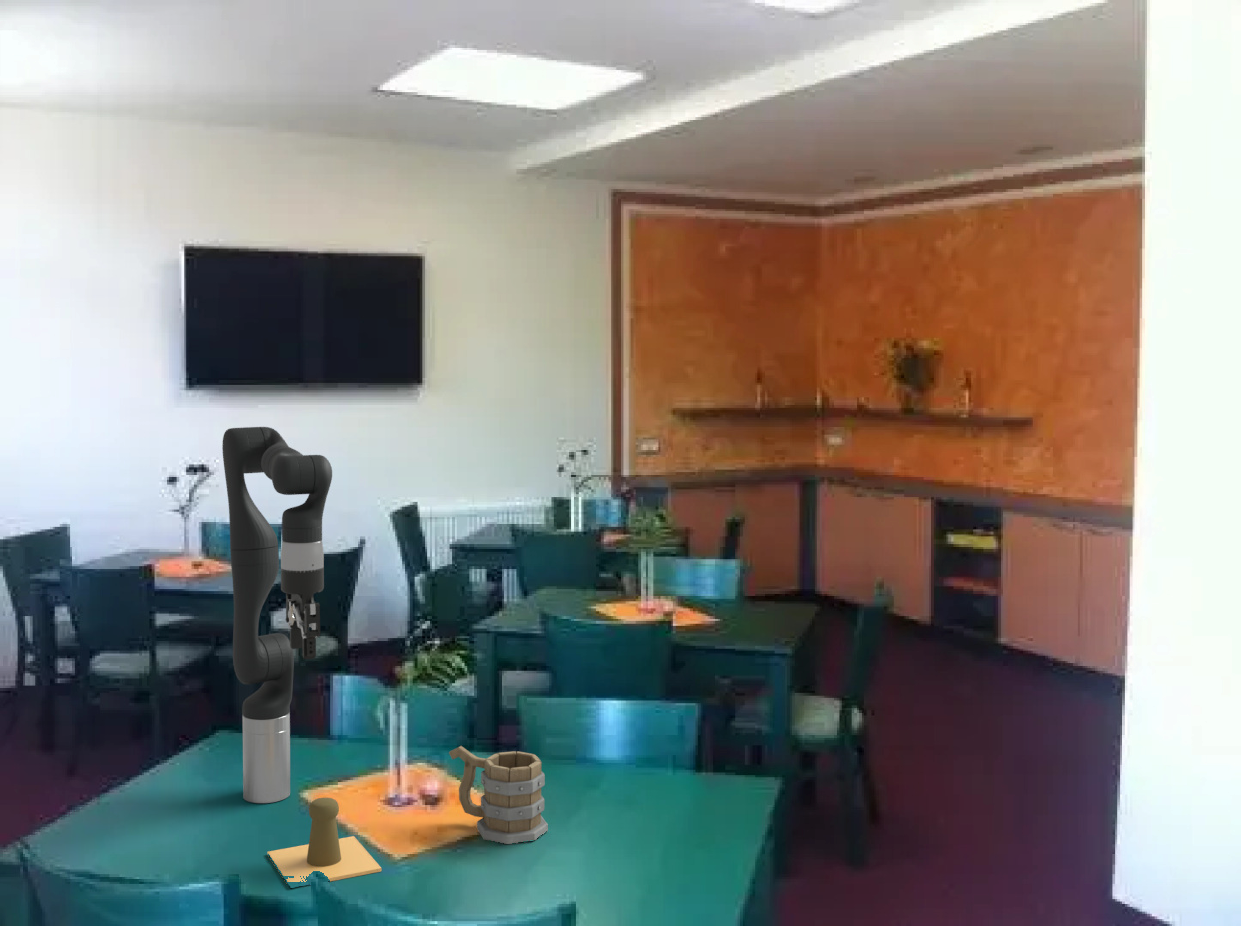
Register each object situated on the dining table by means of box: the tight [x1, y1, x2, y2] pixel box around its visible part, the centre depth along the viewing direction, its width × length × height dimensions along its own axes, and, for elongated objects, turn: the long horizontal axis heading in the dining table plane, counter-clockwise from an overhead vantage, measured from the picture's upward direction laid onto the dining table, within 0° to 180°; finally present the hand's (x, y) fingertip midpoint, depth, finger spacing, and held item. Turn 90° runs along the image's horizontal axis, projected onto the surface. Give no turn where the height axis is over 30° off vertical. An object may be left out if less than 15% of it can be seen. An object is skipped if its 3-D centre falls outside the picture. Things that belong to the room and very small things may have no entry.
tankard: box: [448, 745, 549, 845], centre depth 240 cm, size 20×13×15 cm, turn 65°
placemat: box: [267, 835, 382, 882], centre depth 223 cm, size 16×16×1 cm
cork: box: [307, 797, 341, 867], centre depth 222 cm, size 6×6×11 cm
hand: (302, 653), depth 227 cm, fingers open, 8 cm apart
